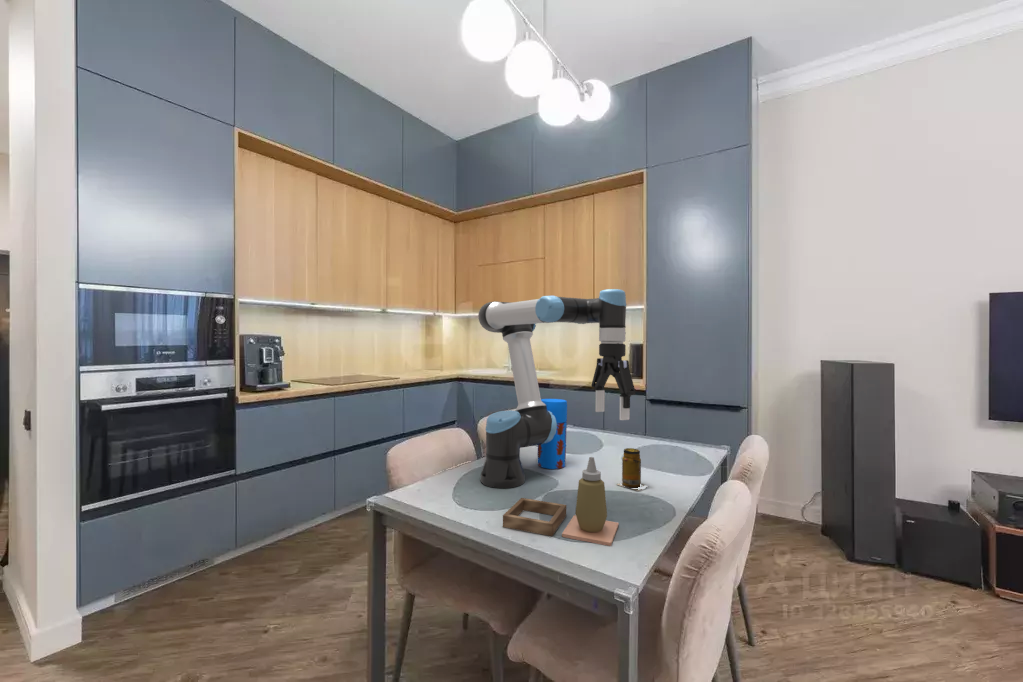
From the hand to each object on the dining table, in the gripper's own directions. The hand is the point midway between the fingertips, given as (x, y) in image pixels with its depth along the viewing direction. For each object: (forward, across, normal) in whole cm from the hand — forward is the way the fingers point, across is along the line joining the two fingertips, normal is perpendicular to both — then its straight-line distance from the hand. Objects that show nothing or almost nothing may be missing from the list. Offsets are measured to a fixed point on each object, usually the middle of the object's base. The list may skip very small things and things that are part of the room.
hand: (611, 415), depth 125 cm
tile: (+27, -12, +13) cm, 32 cm away
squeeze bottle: (+26, -12, +13) cm, 32 cm away
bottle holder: (+27, -3, +25) cm, 36 cm away
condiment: (+27, +14, -17) cm, 34 cm away
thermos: (+27, +42, +1) cm, 50 cm away
